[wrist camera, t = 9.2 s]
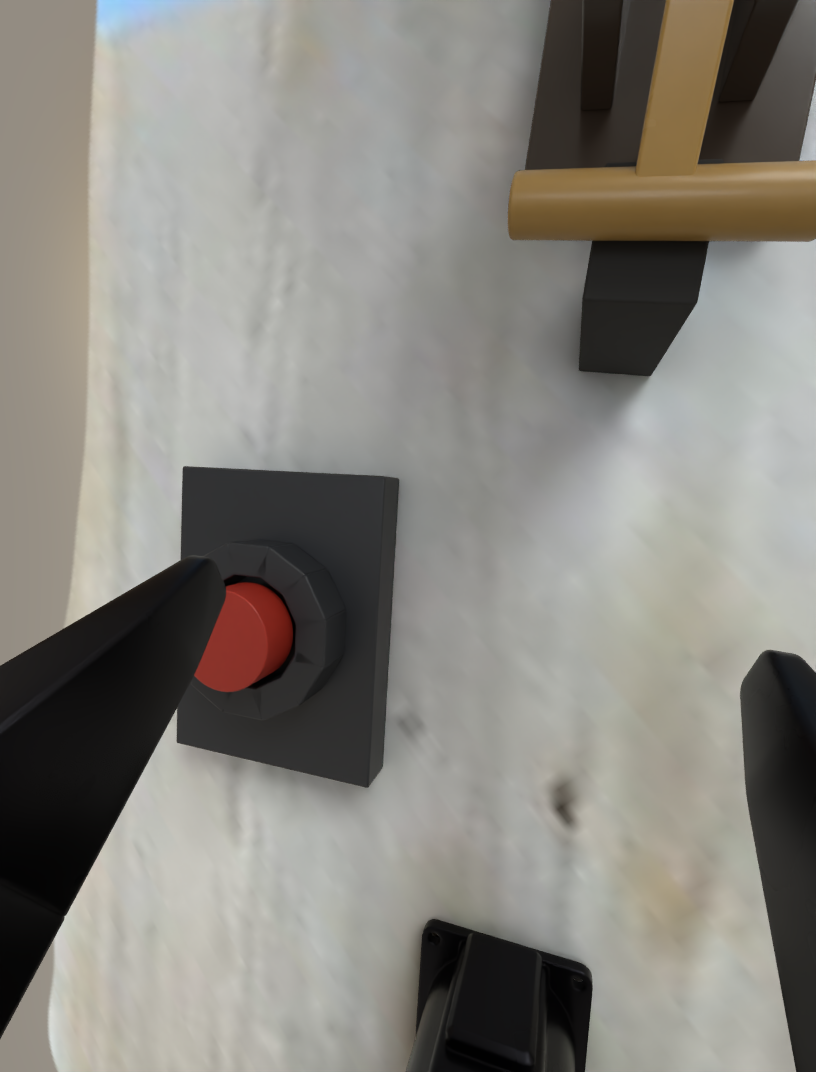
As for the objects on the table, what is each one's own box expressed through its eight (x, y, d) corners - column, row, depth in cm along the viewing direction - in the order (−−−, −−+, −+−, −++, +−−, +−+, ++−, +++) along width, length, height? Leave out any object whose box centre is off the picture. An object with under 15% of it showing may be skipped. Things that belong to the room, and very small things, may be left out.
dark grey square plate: (383, 767, 22) (349, 815, 19) (202, 727, 24) (143, 762, 21) (399, 478, 21) (366, 473, 18) (208, 468, 23) (148, 463, 20)
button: (291, 683, 19) (265, 700, 18) (209, 668, 20) (177, 683, 19) (295, 587, 19) (269, 595, 17) (212, 577, 20) (179, 583, 18)
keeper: (651, 376, 18) (697, 304, 11) (578, 371, 19) (581, 300, 12) (668, 285, 18) (725, 157, 11) (593, 283, 18) (605, 161, 12)
